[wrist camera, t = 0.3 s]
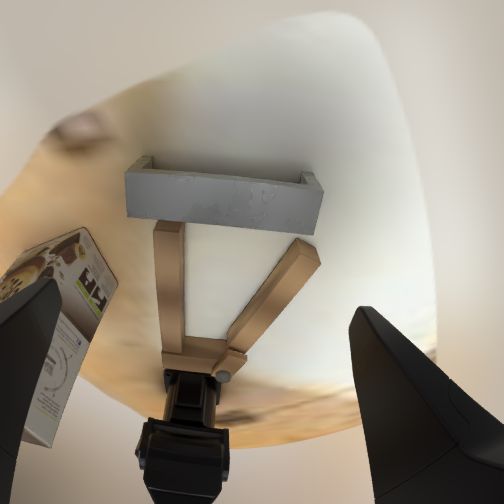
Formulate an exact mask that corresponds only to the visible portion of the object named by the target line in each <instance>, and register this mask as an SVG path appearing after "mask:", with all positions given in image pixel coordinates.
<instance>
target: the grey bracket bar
mask: <svg viewBox="0 0 504 504" xmlns="http://www.w3.org/2000/svg"><path fill="white" fill-rule="evenodd" d="M125 186H126V206H127V217H134V218H145V219H157V220H168V221H179V222H190V223H200V224H211V225H221V226H231V227H241V228H250V229H260V230H269V231H278V232H287V233H296V234H305V235H313V234H314V230H315V226H316V222H317V218H318V214H319V210H320V206H321V201H322V197H323V193H324V191H323V189H322V188H321V186H320V184H319V182H318V181H317V179H316V177H315V175H314V174H313V173H308V172H302V174H301V179H300V184H298V183H291V182H283V181H276V180H268V179H259V178H251V177H242V176H232V175H222V174H211V173H200V172H188V171H174V170H159V169H153V157H147V156H142V157H140V158H139V159H138V160H137V161H136V162H135V163H134V164H133V165H132V166H131V167H130V168H129V169H128V170H127V171H126V172H125Z"/></svg>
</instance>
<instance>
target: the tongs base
mask: <svg viewBox="0 0 504 504" xmlns="http://www.w3.org/2000/svg"><path fill="white" fill-rule="evenodd" d="M153 239H154V259H155V275H156V288H157V300H158V311H159V321H160V330H161V339H162V352H161V355H162V362H163V368H168V369H175V370H183V371H192V372H201V373H211V371H212V369H213V368H214V367H215V366H216V365H217V363H218V362H219V361H220V360H221V359H222V357H223V356H224V355H225V354H226V353H227V351H228V350H230V349H228V348H227V340H217V339H207V338H198V337H189V336H185V323H184V222H179V221H168V220H158V222H157V224H156V226H155V228H154V230H153ZM232 351H233V350H232Z"/></svg>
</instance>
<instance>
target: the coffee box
mask: <svg viewBox="0 0 504 504" xmlns="http://www.w3.org/2000/svg"><path fill="white" fill-rule="evenodd" d="M42 277H51V278H54V279H56V281H57V284H58V287H59V290H60V293H61V297H62V308H61V311H60V314H59V318H58V321H57V324H56V328H55V331H54V335H53V338H52V342H51V345H50V348H49V351H48V354H47V357H46V360H45V362H44V365H43V368H42V371H41V374H40V377H39V380H38V383H37V386H36V389H35V392H34V395H33V398H32V402H31V405H30V408H29V412H28V415H27V419H26V423H25V426H24V430H23V434H22V438H21V441H25V442H28V443H32V444H35V445H40V446H44V447H47V448H52V444H53V440H54V437H55V434H56V431H57V428H58V426H59V422H60V419H61V417H62V414H63V411H64V408H65V405H66V403H67V400H68V397H69V395H70V392H71V389H72V387H73V384H74V382H75V379H76V377H77V374H78V372H79V370H80V367H81V365H82V362H83V360H84V357H85V355H86V353H87V350H88V348H89V345H90V343H91V341H92V338H93V336H94V334H95V332H96V329H97V327H98V325H99V323H100V321H101V318H102V316H103V314H104V312H105V310H106V308H107V306H108V304H109V301H110V299H111V297H112V295H113V293H114V291H115V289H116V287H117V285H118V283H117V281H116V280H115V278H114V276H113V275H112V273H111V271H110V270H109V268H108V267H107V265H106V263H105V261H104V260H103V258H102V256H101V254H100V253H99V251H98V249H97V247H96V246H95V244H94V242H93V240H92V238H91V237H90V235H89V233H88V231H87V230H86V229H85V228H81V229H78V230H76V231H73V232H71V233H68V234H66V235H63V236H61V237H58V238H56V239H54V240H51V241H49V242H46V243H44V244H42V245H39V246H37V247H34V248H32V249H30V250H28V251H25V252H23V253H22V254H21V255H20V256H19V257H18V258H17V260H16V261H15V262H14V263H13V264H12V265H11V266H10V268H9V269H8V270H7V271H6V273H5V274H4V275H3V276H2V277H1V279H0V303H1V302H3V301H4V300H6V299H7V298H9V297H11V296H12V295H14V294H15V293H17V292H19V291H20V290H22V289H24V288H25V287H27V286H29V285H30V284H32V283H34V282H35V281H37V280H39V279H40V278H42Z"/></svg>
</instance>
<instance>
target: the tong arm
mask: <svg viewBox="0 0 504 504" xmlns="http://www.w3.org/2000/svg"><path fill="white" fill-rule="evenodd" d="M320 265H321V262H320V259H319V256H318V253H317V250H316V248H315V247H313V246H311V245H309V244H307V243H305V242H303V241H301V240H299V239H296V240H295V241H294V243H293V244H292V245H291V247H290V248H289V250H288V251H287V252H286V254H285V255H284V256H283V258H282V259H281V261H280V262H279V263H278V265H277V266H276V267H275V269H274V270H273V271H272V273H271V274H270V276H269V277H268V278H267V280H266V281H265V282H264V284H263V285H262V286H261V288H260V289H259V290H258V292H257V293H256V294H255V296H254V297H253V298H252V300H251V301H250V302H249V304H248V305H247V306H246V308H245V309H244V310H243V312H242V313H241V314H240V316H239V317H238V318H237V320H236V321H235V322H234V324H233V325H232V326H231V328H230V329H229V330H228V336H227V348H228V349H230V350H228V351H227V353H226V354H225V355H224V356H223V357H222V359H221V360H220V361H219V362H218V363H217V365H216V366H215V367H214V368H213V369H212V371H211V376H214V377H215V379H216V380H217V381H218V382H221V383H226V382H229V381H230V380H231V378H232V377H233V375H234V374H235V373H236V372H237V371H238V370H239V369H240V368H241V367H242V366H243V365H244V364H245V363H246V362H247V355H244V354H245V353H246V352H247V351H248V350H249V349H250V348H251V347H252V345H253V344H254V343H255V342H256V341H257V340H258V339H259V337H260V336H261V335H262V334H263V333H264V332H265V331H266V329H267V328H268V327H269V326H270V325H271V324H272V322H273V321H274V320H275V319H276V318H277V317H278V315H279V314H280V313H281V312H282V311H283V310H284V308H285V307H286V306H287V305H288V304H289V302H290V301H291V300H292V299H293V298H294V296H295V295H296V294H297V293H298V292H299V290H300V289H301V288H302V287H303V286H304V284H305V283H306V282H307V281H308V279H309V278H310V277H311V276H312V275H313V273H314V272H315V271H316V270H317V268H318V267H319V266H320ZM232 350H233V351H232ZM235 351H236V352H235ZM238 352H239V353H238ZM241 353H242V354H241Z"/></svg>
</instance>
